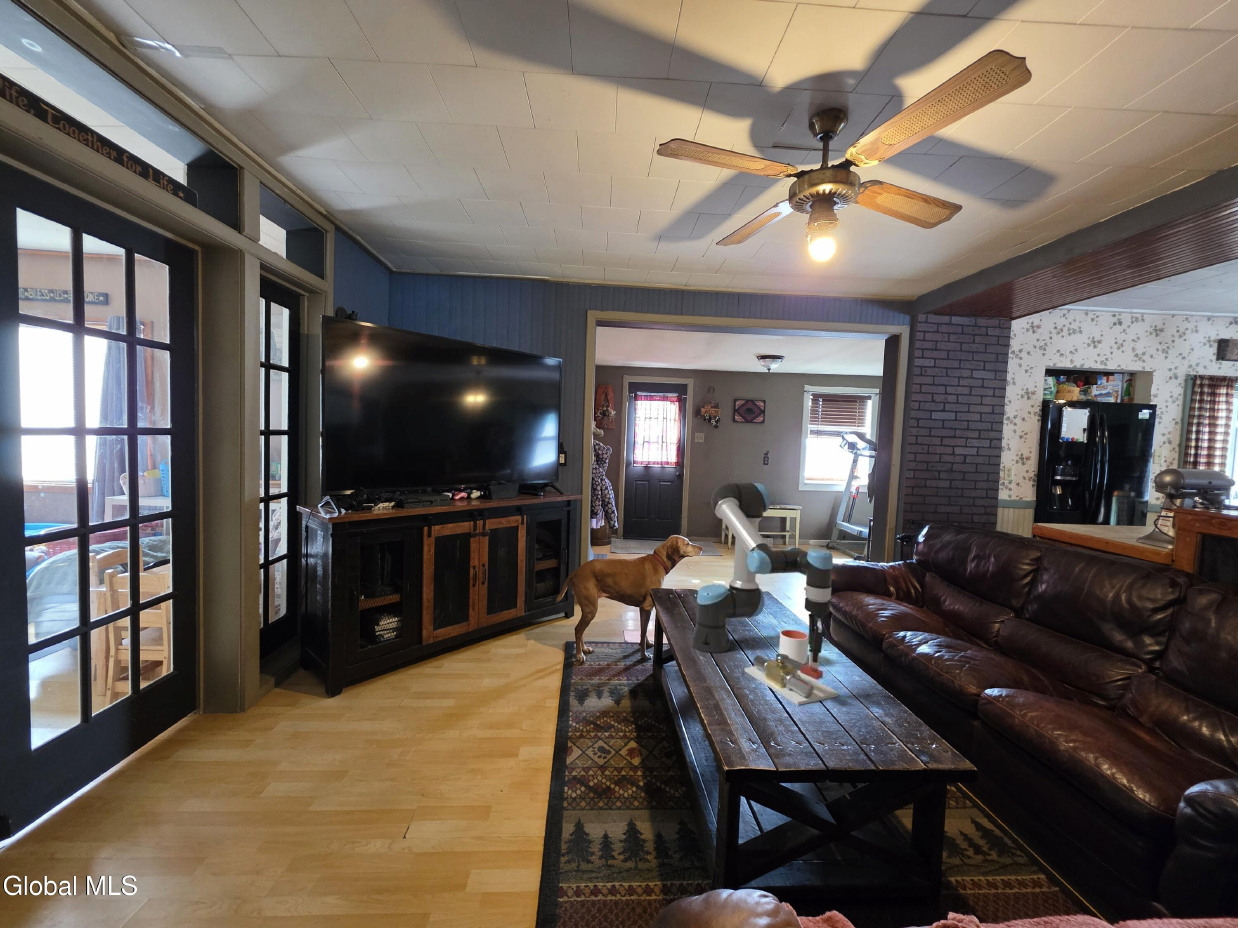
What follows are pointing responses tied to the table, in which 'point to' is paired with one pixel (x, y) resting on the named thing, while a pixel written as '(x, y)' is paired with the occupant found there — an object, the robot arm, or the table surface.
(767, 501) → the robot arm
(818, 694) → the board
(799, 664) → the lever
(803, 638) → the cup
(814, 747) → the table surface
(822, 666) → the table surface
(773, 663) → the valve
